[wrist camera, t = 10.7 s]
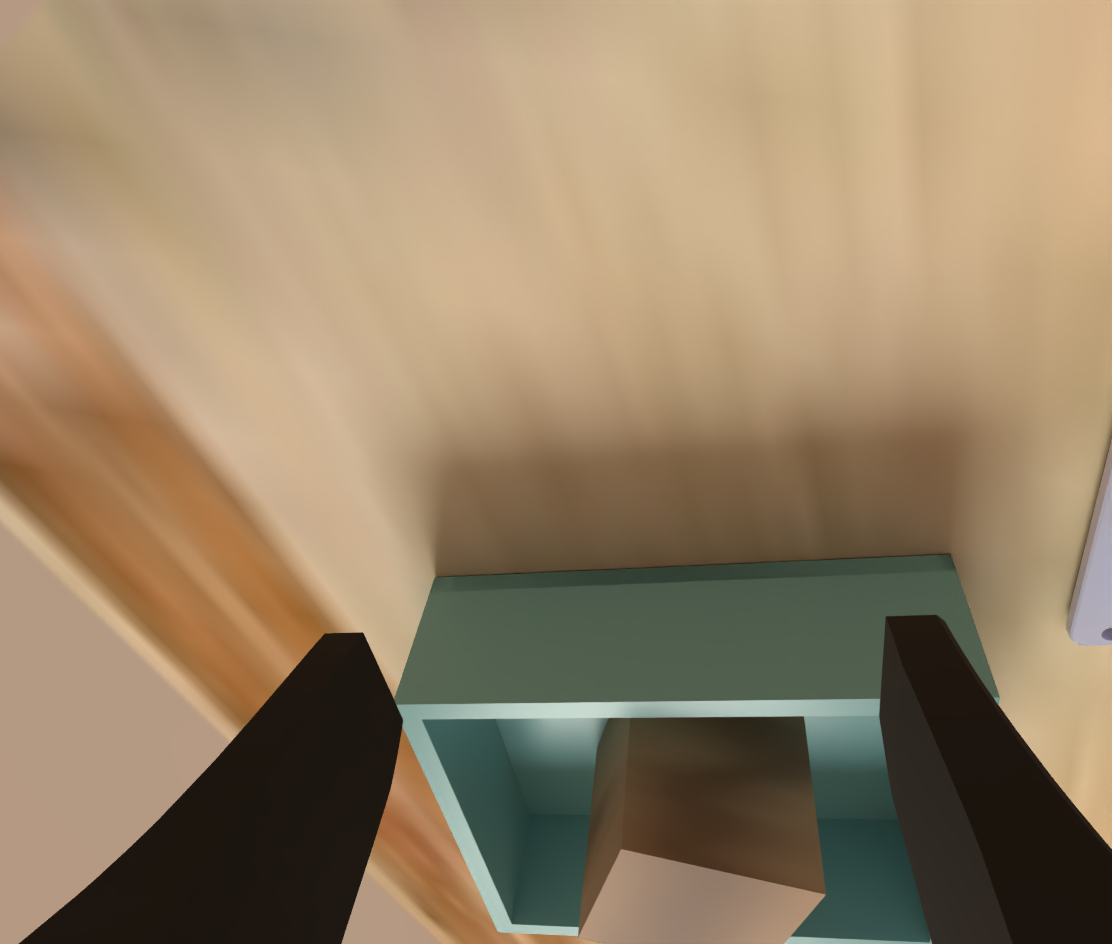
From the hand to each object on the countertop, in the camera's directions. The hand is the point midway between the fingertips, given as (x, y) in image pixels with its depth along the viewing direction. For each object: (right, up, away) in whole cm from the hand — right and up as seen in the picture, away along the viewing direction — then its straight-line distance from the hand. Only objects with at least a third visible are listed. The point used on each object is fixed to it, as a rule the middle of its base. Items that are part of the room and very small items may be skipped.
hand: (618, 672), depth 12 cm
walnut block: (+3, -5, +15) cm, 16 cm away
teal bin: (+4, -4, +15) cm, 16 cm away
